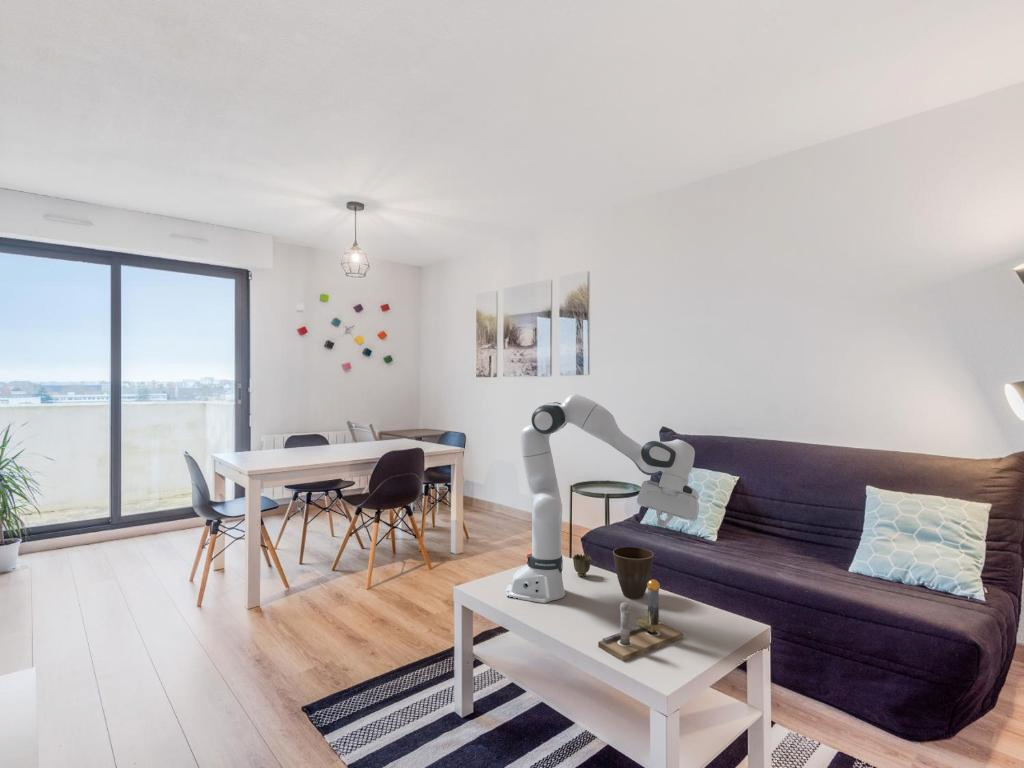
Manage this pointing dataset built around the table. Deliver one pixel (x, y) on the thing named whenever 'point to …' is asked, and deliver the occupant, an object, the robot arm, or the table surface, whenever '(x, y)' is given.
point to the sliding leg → (652, 608)
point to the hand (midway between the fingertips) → (661, 525)
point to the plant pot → (633, 570)
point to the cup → (581, 564)
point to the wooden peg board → (636, 638)
